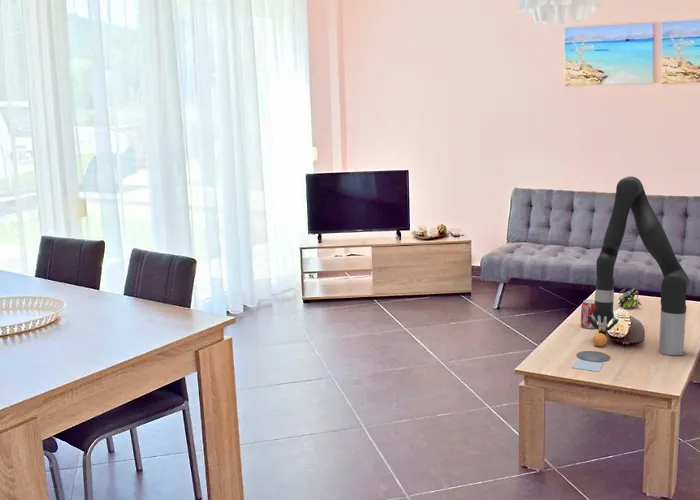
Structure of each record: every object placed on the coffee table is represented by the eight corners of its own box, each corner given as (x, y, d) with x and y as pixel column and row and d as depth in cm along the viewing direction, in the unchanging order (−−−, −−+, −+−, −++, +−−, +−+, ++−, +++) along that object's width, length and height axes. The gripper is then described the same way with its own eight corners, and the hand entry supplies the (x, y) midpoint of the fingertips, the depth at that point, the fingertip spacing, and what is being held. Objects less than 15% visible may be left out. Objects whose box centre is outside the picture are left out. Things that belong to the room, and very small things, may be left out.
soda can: (597, 329, 330) (599, 303, 328) (581, 328, 331) (582, 303, 329) (595, 325, 337) (597, 299, 335) (579, 324, 338) (581, 299, 336)
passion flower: (621, 315, 371) (622, 293, 376) (644, 315, 365) (644, 292, 369) (615, 307, 363) (616, 285, 368) (637, 306, 357) (638, 283, 361)
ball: (607, 345, 309) (608, 332, 308) (605, 348, 304) (606, 336, 303) (593, 343, 311) (594, 330, 310) (591, 346, 306) (592, 334, 305)
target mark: (612, 354, 297) (612, 353, 297) (607, 364, 286) (607, 363, 286) (579, 349, 303) (579, 349, 303) (573, 359, 292) (573, 358, 292)
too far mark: (603, 363, 286) (603, 363, 286) (599, 371, 277) (599, 371, 277) (577, 360, 291) (577, 359, 291) (571, 368, 282) (571, 367, 282)
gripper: (622, 299, 309) (620, 338, 312) (590, 295, 315) (588, 334, 318) (618, 303, 302) (616, 343, 305) (586, 299, 309) (584, 339, 312)
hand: (602, 338), depth 312 cm, fingers closed
